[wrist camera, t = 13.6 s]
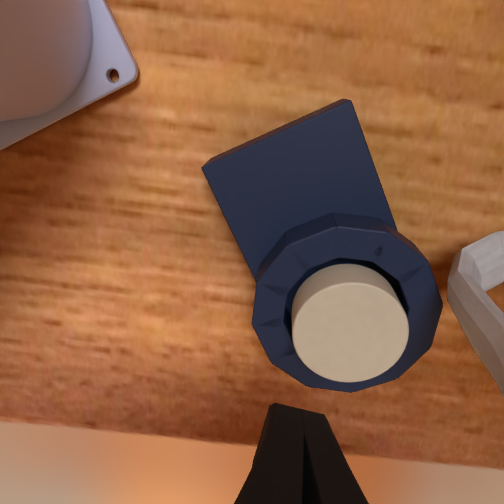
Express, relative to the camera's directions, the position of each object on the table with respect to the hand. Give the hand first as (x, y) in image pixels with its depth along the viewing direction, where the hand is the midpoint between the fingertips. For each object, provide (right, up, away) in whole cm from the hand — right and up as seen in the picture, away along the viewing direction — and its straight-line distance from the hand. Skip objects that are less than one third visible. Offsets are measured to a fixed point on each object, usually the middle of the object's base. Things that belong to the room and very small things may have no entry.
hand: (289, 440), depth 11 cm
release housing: (+2, +5, +9) cm, 11 cm away
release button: (+3, +2, +6) cm, 7 cm away
